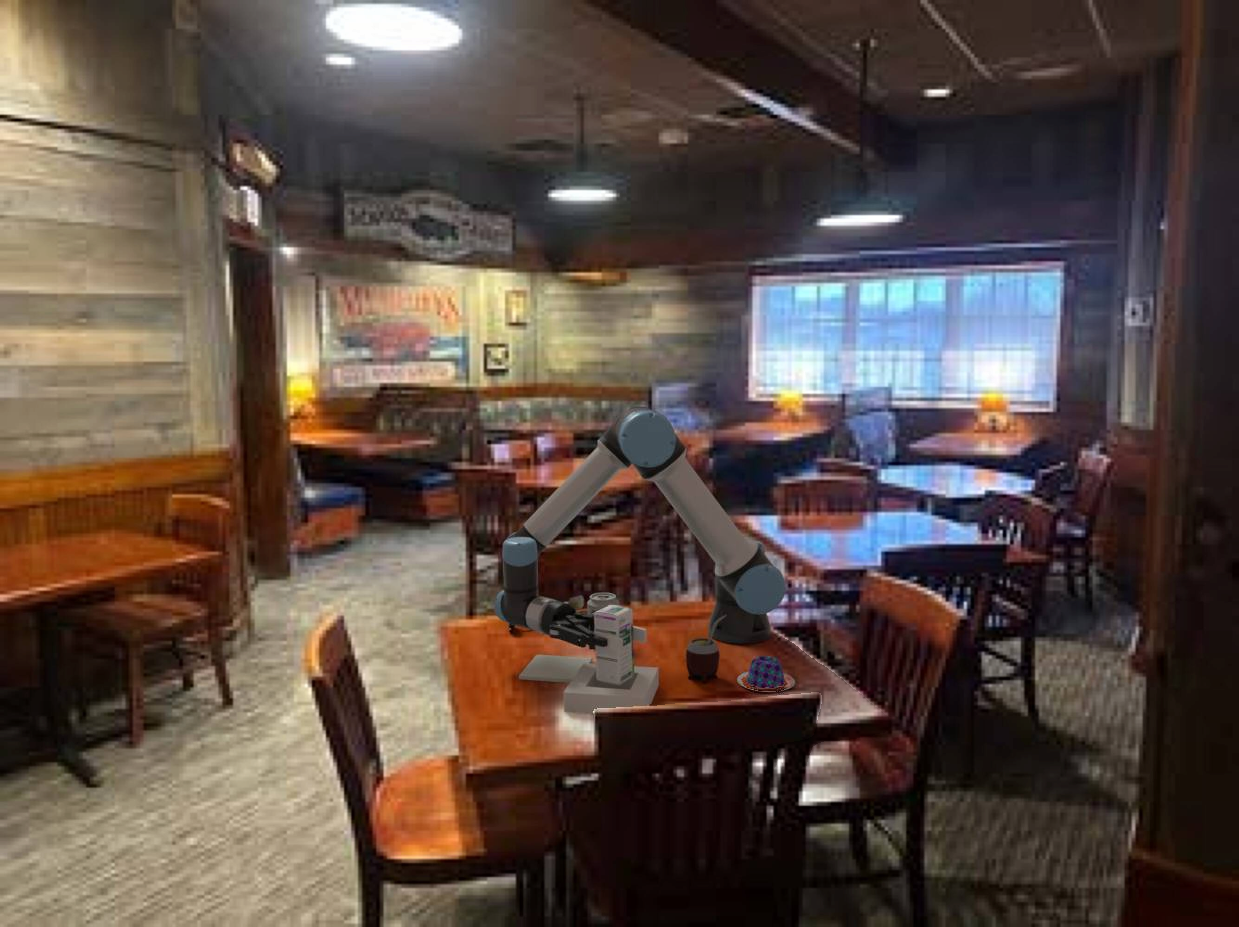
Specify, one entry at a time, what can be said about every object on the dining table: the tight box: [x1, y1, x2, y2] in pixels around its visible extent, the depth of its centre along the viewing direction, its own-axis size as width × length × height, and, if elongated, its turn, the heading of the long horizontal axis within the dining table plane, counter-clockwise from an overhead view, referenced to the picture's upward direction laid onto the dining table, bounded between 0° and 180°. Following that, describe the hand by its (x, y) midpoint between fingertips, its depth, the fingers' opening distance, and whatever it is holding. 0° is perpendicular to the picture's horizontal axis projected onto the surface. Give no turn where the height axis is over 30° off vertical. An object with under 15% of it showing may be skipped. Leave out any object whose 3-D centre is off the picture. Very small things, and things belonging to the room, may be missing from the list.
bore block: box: [563, 662, 659, 715], centre depth 181 cm, size 16×16×4 cm
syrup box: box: [594, 604, 635, 685], centre depth 180 cm, size 6×6×14 cm
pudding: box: [736, 655, 796, 693], centre depth 188 cm, size 12×12×5 cm
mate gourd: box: [685, 615, 727, 685], centre depth 190 cm, size 8×8×15 cm
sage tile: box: [518, 654, 593, 684], centre depth 197 cm, size 13×13×1 cm
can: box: [586, 592, 620, 635], centre depth 212 cm, size 8×8×12 cm
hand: (633, 640), depth 176 cm, fingers closed on syrup box, 6 cm apart
